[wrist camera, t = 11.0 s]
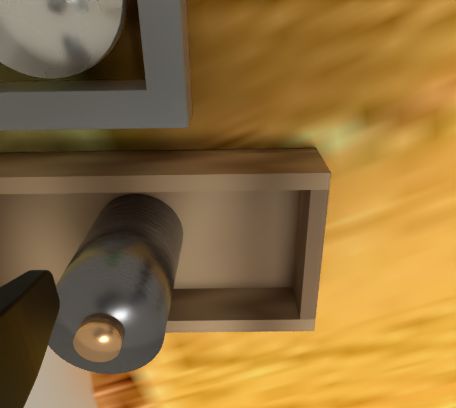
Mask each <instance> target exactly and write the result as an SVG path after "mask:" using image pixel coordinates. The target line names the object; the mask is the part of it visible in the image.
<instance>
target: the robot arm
mask: <svg viewBox="0 0 456 408" xmlns="http://www.w3.org/2000/svg"><path fill="white" fill-rule="evenodd" d="M59 308H60V299H59V296H58V292H57V288H56V285H55V281H54V278H53V275H52V273H51V272H50V271H48V270H30V271H27V272H26V273H24V274H22V275H20V276H19V277H17V278H15V279H13V280H12V281H10V282H8V283H6V284H5V285H3V286H1V287H0V408H23V407H24V405H25V403H26V401H27V399H28V396H29V394H30V392H31V390H32V387H33V385H34V383H35V380H36V378H37V376H38V373H39V370H40V367H41V364H42V361H43V358H44V355H45V352H46V349H47V346H48V343H49V340H50V337H51V334H52V331H53V328H54V325H55V322H56V319H57V316H58V313H59Z"/></svg>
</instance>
